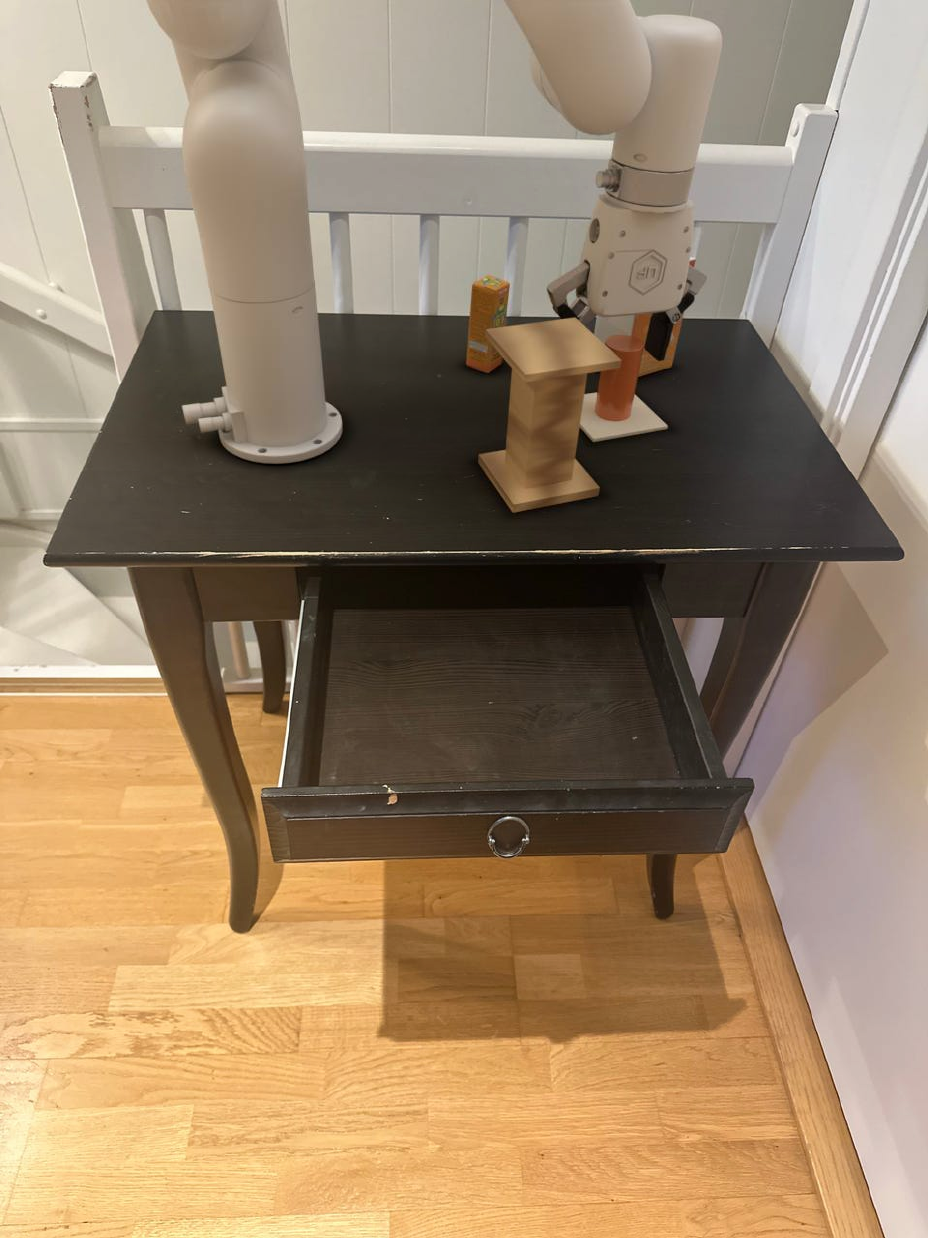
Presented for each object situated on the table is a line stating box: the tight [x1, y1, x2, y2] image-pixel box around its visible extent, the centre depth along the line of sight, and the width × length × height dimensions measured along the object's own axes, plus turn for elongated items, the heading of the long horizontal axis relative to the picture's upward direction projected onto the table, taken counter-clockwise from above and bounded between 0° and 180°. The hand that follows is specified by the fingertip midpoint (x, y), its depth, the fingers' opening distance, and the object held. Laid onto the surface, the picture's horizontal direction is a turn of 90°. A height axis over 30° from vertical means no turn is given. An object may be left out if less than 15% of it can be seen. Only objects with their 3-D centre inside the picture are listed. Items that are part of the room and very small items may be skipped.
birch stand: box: [477, 318, 621, 514], centre depth 78 cm, size 9×9×14 cm
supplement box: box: [465, 274, 511, 374], centre depth 97 cm, size 3×3×10 cm
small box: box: [593, 256, 697, 378], centre depth 97 cm, size 8×6×13 cm
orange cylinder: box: [595, 335, 644, 421], centre depth 89 cm, size 4×4×8 cm
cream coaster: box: [579, 392, 669, 443], centre depth 92 cm, size 9×9×1 cm
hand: (613, 359), depth 88 cm, fingers open, 9 cm apart
